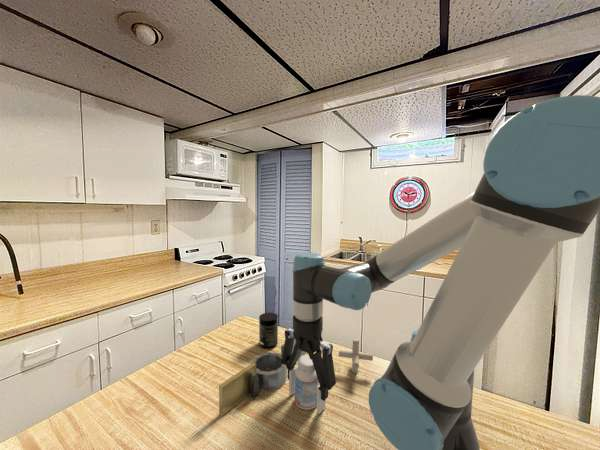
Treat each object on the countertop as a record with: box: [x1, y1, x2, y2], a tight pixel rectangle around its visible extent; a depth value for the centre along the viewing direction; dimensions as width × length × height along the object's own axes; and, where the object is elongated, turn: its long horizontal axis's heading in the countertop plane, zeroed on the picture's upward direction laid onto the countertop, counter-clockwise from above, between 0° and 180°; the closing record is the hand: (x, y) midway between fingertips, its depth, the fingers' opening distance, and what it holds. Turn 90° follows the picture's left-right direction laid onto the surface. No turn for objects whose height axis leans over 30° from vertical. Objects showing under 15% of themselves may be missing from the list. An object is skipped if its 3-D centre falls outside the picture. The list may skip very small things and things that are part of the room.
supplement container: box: [258, 312, 279, 350], centre depth 90 cm, size 7×7×10 cm
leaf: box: [218, 363, 256, 416], centre depth 64 cm, size 1×11×7 cm, turn 143°
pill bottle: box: [294, 354, 319, 411], centre depth 64 cm, size 6×6×11 cm
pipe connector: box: [338, 337, 374, 374], centre depth 76 cm, size 10×10×10 cm
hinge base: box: [249, 338, 307, 400], centre depth 76 cm, size 10×25×7 cm, turn 140°
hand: (306, 400), depth 64 cm, fingers open, 8 cm apart
